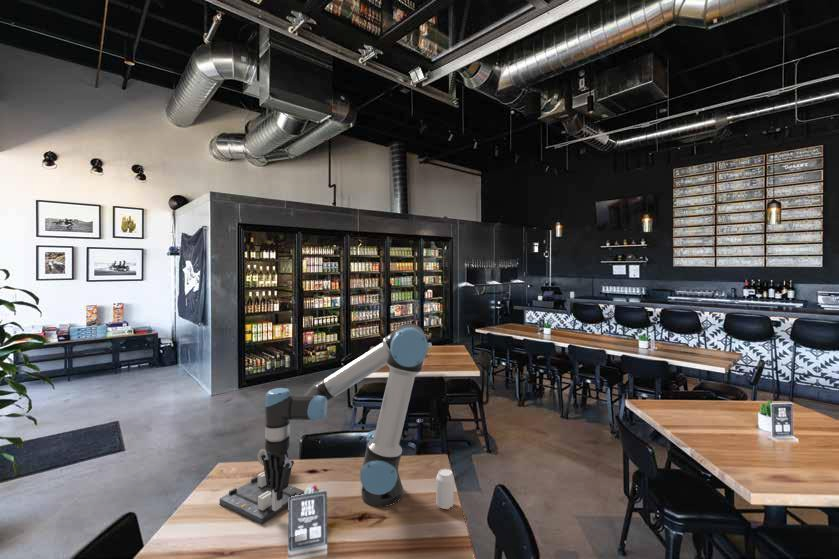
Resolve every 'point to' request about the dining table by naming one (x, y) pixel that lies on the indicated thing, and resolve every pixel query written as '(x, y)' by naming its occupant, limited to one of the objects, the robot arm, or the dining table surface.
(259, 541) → the dining table surface
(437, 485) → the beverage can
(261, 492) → the console
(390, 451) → the robot arm
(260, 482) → the fader
